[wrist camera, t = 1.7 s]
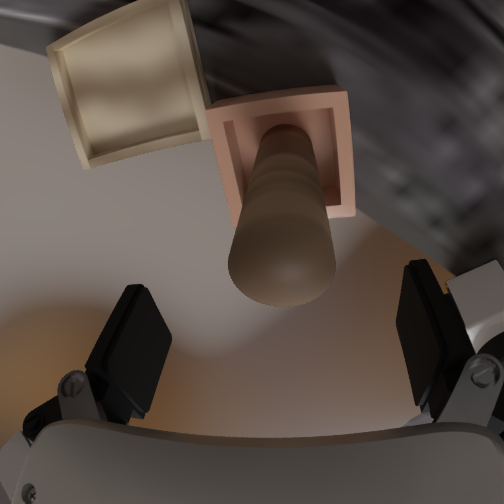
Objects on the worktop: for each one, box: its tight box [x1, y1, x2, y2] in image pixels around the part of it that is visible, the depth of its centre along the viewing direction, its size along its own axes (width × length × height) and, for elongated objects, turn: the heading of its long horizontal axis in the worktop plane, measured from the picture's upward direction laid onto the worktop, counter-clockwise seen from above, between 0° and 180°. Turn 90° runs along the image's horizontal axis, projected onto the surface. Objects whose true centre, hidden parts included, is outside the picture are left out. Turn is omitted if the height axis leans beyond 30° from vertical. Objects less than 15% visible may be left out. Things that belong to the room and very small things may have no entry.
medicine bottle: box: [445, 260, 504, 369], centre depth 25 cm, size 7×7×12 cm
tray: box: [46, 0, 212, 170], centre depth 20 cm, size 12×12×2 cm
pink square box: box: [204, 84, 355, 228], centre depth 22 cm, size 9×9×4 cm
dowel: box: [228, 124, 336, 307], centre depth 17 cm, size 4×4×14 cm
